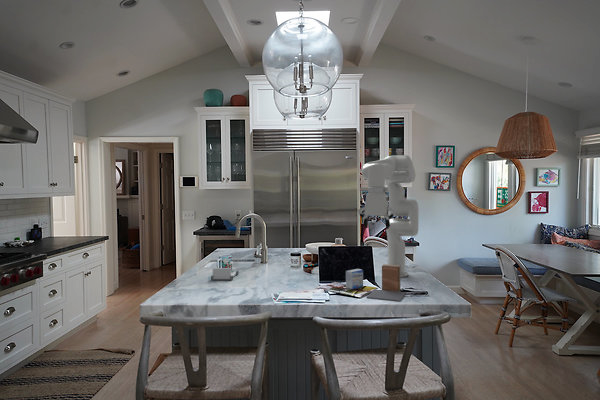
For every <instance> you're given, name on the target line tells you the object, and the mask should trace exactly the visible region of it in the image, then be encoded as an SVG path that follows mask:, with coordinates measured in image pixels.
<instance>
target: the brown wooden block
mask: <svg viewBox="0 0 600 400" xmlns="http://www.w3.org/2000/svg"><path fill="white" fill-rule="evenodd" d="M381 290H387V291H397V292H401V277H400V265H388V264H385V263H383V264H382V265H381Z"/></svg>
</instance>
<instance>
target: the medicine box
mask: <svg viewBox="0 0 600 400" xmlns="http://www.w3.org/2000/svg"><path fill="white" fill-rule="evenodd" d="M362 287H364V270H363V269H360V268H355V269H349V270H345V288H347V289H349V290H357V289H359V288H362Z"/></svg>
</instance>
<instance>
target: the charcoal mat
mask: <svg viewBox="0 0 600 400" xmlns="http://www.w3.org/2000/svg"><path fill="white" fill-rule="evenodd" d="M406 294H407V292H406V291H399V292H397V291H387V290H382V289H376V288H374V289H372V291H371V292H370V293H369V294H368V295H367V296H366V299H372V300H373V299H374V300H383V301H390V302H391V301H392V302H398V303H399V302H400V303H401V302H402V300H403V299H404V297H405V296H406Z"/></svg>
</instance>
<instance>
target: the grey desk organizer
mask: <svg viewBox="0 0 600 400" xmlns="http://www.w3.org/2000/svg"><path fill="white" fill-rule="evenodd" d="M222 261H223V262H222V263H223V264H224V267H212V275H211V276H210V280H211V282H212V281H214V280H230V281H233V280H234V277H235V276H239V275H240V274H239V270H236V271H235V269H232V264H233V261H230V259H229V258H226V257H225V258H223V259H222ZM227 264H230V267H227Z"/></svg>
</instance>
